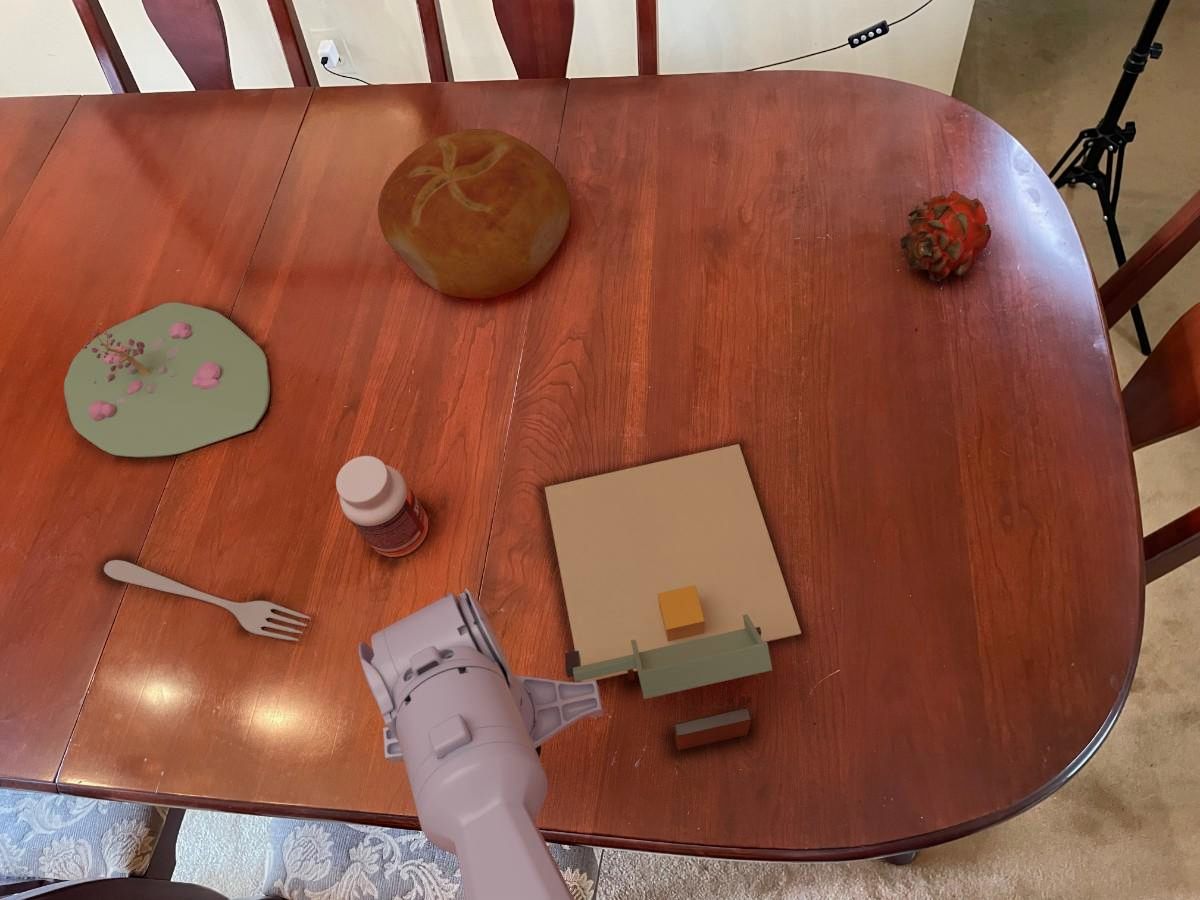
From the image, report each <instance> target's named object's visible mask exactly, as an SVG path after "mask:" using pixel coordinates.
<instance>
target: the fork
mask: <svg viewBox="0 0 1200 900" xmlns="http://www.w3.org/2000/svg"><path fill="white" fill-rule="evenodd" d="M103 571H104V573H105V574H106V575H107V576H108V577H110V578H112V579H113V580H116V581H119V582H123V583H127V584H130V585H131V584H132V585H136V586H140V587H144V588H147V589H151V590H156V591H160V592H164V593H170V594H173V595H174V594H175V595H179V596H184V597H189V598H193V599H197V600H200V601H203V602H207V603H211V604H214V605H217V606H220V607H221V608H223V609H226V610H227V611H229V612H230V613H232V614H233V615H234V617H236V619H237V621H238V622H239V624H240V625H241V627H242V628H244V630H246V631H247V632H249V633H251V634H255V635H259V636H263V637H264V636H265V637H270V638H275V639H281V640H285V641H286V640H287V641H295V642H296V641H297V642H298V641H299V638H296V637H294V636H290V635H286V634H282V633H277V632H272V631H268V630H267V631H266V630H265V629H264V630H263V629H262V628H264V627H265V628H271V629H275V630H279V631H284V632H289V633H294V634H300V635H302V634H303V631H301V630H298V629H296V628H292V627H289V626H285V625H282V624H278V623H274V622H271V621H268V620H267V619H273V620H276V621H280V622H285V623H288V624H292V625H296V626H301V627H307V626H308V624H306V623H304V622H301V621H299V620H297V619H293V618H289V617H286V616H283V615H281V614H277V613H274V612H272V610H275V611H279V612H282V613H285V614H289V615H292V616H294V617H297V618H303V619H308V620H311V618H312V617H311V616H309V615H306V614H304V613H301V612H299V611H295V610H293V609H290V608H287V607H284V606H281V605H279V604H277V603H273V602H271V601H268V600H253V601H247V602H237V601H236V602H235V601H230V600H227V599H223V598H221V597H217V596H215V595H211V594H208V593H205V592H202V591H200V590H197V589H195V588H192V587H190V586H187V585H185V584H182V583H181V582H179V581H178V582H177V581H175V580H173V579H170V578H168V577H166V576H163V575H160V574H158V573H156V572H153V571H150V570H149V569H146V568H144V567H142V566H139V565H137V564H134V563H132V562H129V561H126V560H121V559H120V560H119V559H114V560H113V559H112V560H110V561H107V563H105V565H104V567H103Z"/></svg>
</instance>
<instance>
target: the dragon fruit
mask: <svg viewBox="0 0 1200 900" xmlns="http://www.w3.org/2000/svg"><path fill="white" fill-rule="evenodd" d="M922 205H923V206H926V207H927V208H921V209H919V207H920V205H916V206H914V207H913V208H912V209H911V210H910V212H909V213H908V214H907V216H908V217H909V218H908V224H909V226H910V228H911V230H909V232H907V233H906V234H905V235H904V236H902V237H901V238H900V240H899V241H900V244H899V245H900V248H901V249H902V250H905V249H906V250H907V251H908V252H909V254H908V260H907V263H908V265H909V267H910V268H911V269H916V270H920V271H928V275H929V276H928V280H931V281H933V282H936V283H938V282H940V281H941V280H944V279H945V278H947V276H949V274H950V273H951V271H953V272H954V275H956V276H963V275H965V274H967V272H968V270H969V269H970V268H972V267H973V266H974V264H975V261H976V258H977V256H978V255H979V254H980V253H982V252H983V251H984V249H986V248H987V246H988V244H989V241H990V240H991V237H992V230H991V226H990V224H987V222H988V219H989V218H988V215H987V212H986V209H985V207H984V204H983V202H981V201H980V199H978V198H977V197H976V198H974V199H970V198H969V197H967V196H965V194H961V193H960V192H958V191H956V190H952V191H951V192H950V193H949V195H948V196H947V197H946V194H941V195H937V196H933V197H932V198H930V199H929V201H923V202H922Z"/></svg>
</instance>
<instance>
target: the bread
mask: <svg viewBox="0 0 1200 900" xmlns="http://www.w3.org/2000/svg"><path fill="white" fill-rule="evenodd" d="M571 211H572V202H571V196H570V191H569V189H568V185H567V183H566V181H565V179H564V177H563V176H562V174H561V172H560V171H559V170H558V169H557V167H556V166H555V165H554V164H553V163H552V162H551V161H550V159H548V158H547V157H546V156H545V155H543V153H541V152H540V151H539V150H538V149H536V148H535V147H534V146H532V145H530V144H528V143H527V142H525V141H524V140H522V139H521V138H518V137H517V136H514V135H512V134H509V133H507V132H505V131H502V130H499V129H492V128H466V129H461V130H458V131H454V132H452V133H447V134H443V135H440V136H437V137H435V138H433V139H431V140H429V141H427V142H425V143H423V144H422V145H420V146H419V147H417V148H415V150H413V151H411V153H410V154H408V155H407V156H406V157H405V158H404V159H403V160H402V161H401V162H400V163H398V165H397V166H396V167H395V169H394V170H393V171H392V173H390V175H389V176H388V178H387V180H386V181H385V183H384V185H383V187H382V188H381V191H380V193H379V196H378V203H377V217H378V223H379V227H380V229H381V233H382V235H383V238H384V240H385V241H386V243H388V245H389V246H390V248H391V249H393V250H394V252H395V253H396V254H397V255H398V257H400V258H401V259H402V261H403V262H404V263H405V264H406V266H408V267H409V268H410V269H411V270H412V272H413V273H414V274H415V275H416V276H417V277H418V278H419V279H420V280H422V281H423V282H424V283H425V284H427V285H428V286H429V287H431V288H432V289H434V290H435V291H437V292H439V293H441V294H444V295H447V296H451V297H455V298H456V297H457V298H466V299H475V300H476V299H477V300H478V299H490V298H494V297H497V296H498V297H499V296H501V295H505V294H508V293H512V292H513V291H516V290H517V289H519V288H521V287H523V286H524V285H526V284H528V283H530V281H531V280H533V279H534V278H535V277H536V276H537V275H538V274H539V273H540V272H541V271H542V269H543V268H544V267H545V266H546V265H547V264H548V263H549V261H550V260H551V258H553V256H554V255H555V253H556V252H557V250H558V248H559V246H560V245H561V243H562V242H563V239H564V237H565V235H566V233H567V231H568V229H569V225H570V221H571V213H572V212H571Z"/></svg>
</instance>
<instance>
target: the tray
mask: <svg viewBox="0 0 1200 900" xmlns="http://www.w3.org/2000/svg"><path fill="white" fill-rule="evenodd" d="M743 619H744V625H745V629H741V630H736V631H732V632H727V633H723V634H719V635H714V636H710V637H705V638H701V639H696V640H692V641H688V642H683V643H679V644H674V645H670V646H665V647H661V648H657V649H652V650H648V651H643V652H638V648H637V643H636V640H631V644H632V648H633V653H634V654H632V655H628V656H623V657H619V658H615V659H610V660H606V661H601V662H597V663H592V664H588V665H584V666H581V658H580V654H579V651H575V650H574V651H570V652H565V653H564V659H565V660H564V664H565V665H564V666H565V674H566V676H567V677H566V678H568V679H569V678H572V677H573V679H574V682H581V681H582V680H586V679H591V678H595V677H599V676H604V675H608V674H613V673H617V672H621V671H626V670H630V669H635V668H637V671H636V672H637V674H638V679H639V684H640V688H641V692H642V693H641V694H642V697H643V700H646V699H647V700H648V699H651V698H655V697H656V698H657V697H661V696H665V695H669V694H674V693H678V692H683V691H686V690H691V689H696V688H701V687H704V686H709V685H712V684H718V683H722V682H726V681H731V680H735V679H740V678H745V677H748V676H753V675H757V674H762V673H766V672H770V671H773V665H772V659H771V654H770V649H769V644H768V642H763V640H762V639H761V637H760V635H759V633H758V632H757V630H756V628H755V627H754V625H753V623H752V621H751V620H750V618H749V616H748V615H747V614H746V615H743Z"/></svg>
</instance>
